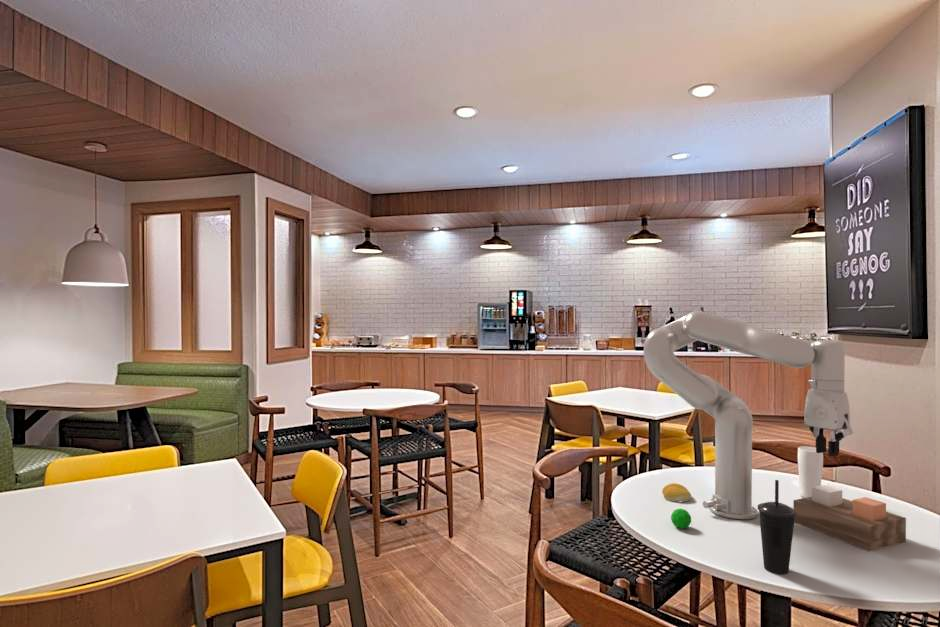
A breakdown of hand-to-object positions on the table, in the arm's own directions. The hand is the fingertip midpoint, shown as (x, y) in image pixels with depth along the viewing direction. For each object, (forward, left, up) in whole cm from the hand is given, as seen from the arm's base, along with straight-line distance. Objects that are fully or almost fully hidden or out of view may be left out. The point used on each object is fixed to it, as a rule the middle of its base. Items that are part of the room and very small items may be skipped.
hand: (827, 453), depth 153 cm
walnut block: (0, -5, -19) cm, 20 cm away
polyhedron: (-38, +14, -19) cm, 45 cm away
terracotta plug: (0, -11, -14) cm, 17 cm away
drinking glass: (+16, +17, -19) cm, 30 cm away
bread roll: (-22, +33, -20) cm, 44 cm away
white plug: (0, 0, -14) cm, 14 cm away
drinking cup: (-36, -13, -19) cm, 43 cm away
